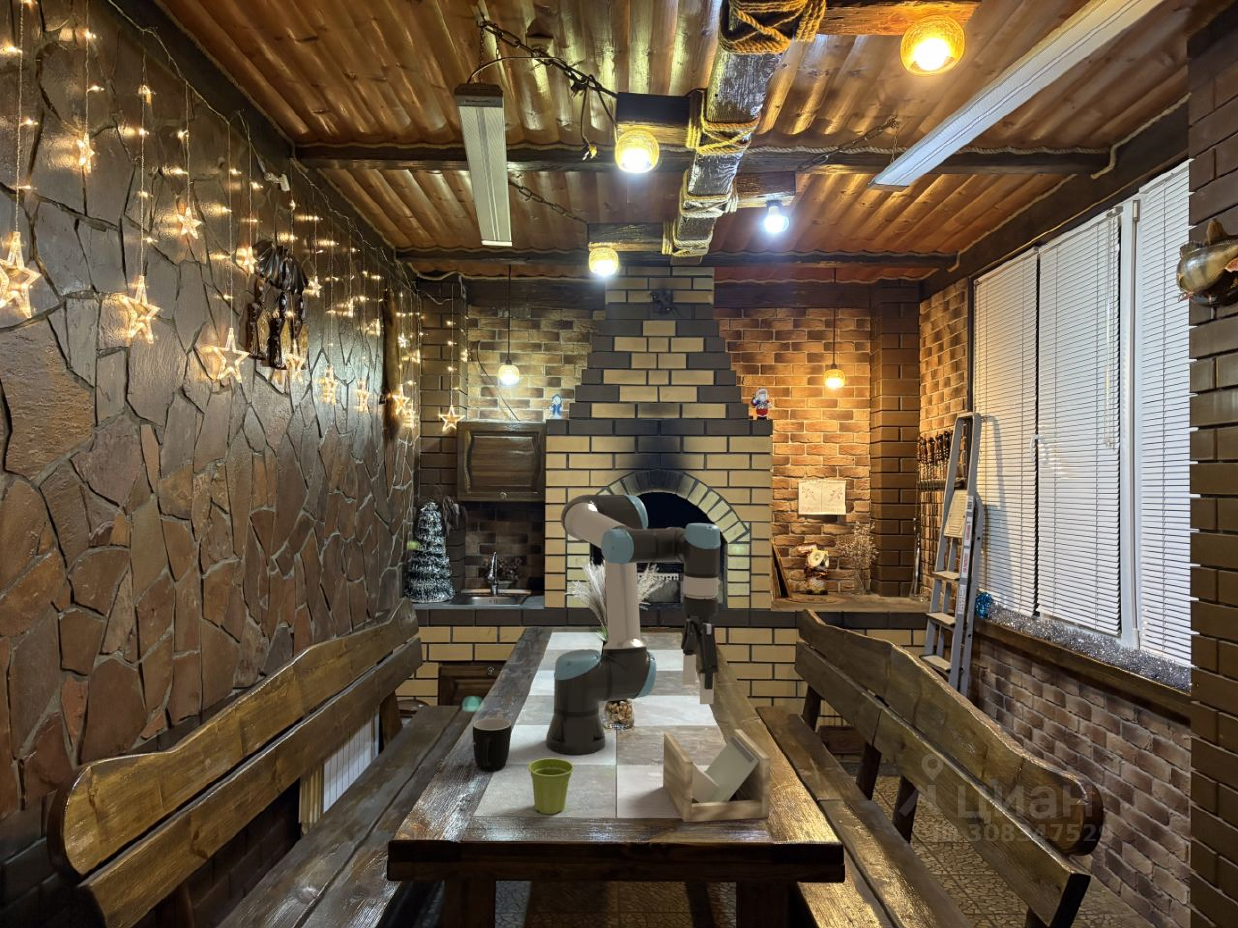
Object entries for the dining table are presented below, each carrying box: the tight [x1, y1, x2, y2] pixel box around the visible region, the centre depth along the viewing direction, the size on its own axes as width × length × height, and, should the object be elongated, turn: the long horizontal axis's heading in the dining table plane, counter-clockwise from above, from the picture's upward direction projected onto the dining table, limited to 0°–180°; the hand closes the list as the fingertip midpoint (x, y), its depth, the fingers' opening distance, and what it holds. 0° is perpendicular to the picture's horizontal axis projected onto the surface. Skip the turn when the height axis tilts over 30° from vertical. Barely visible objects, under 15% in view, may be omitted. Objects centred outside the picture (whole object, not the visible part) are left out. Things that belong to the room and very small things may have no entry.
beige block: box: [692, 762, 719, 803], centre depth 165 cm, size 5×5×6 cm
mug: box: [472, 717, 512, 773], centre depth 181 cm, size 12×9×10 cm
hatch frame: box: [662, 728, 771, 823], centre depth 165 cm, size 18×18×12 cm
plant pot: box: [528, 757, 575, 815], centre depth 160 cm, size 9×9×9 cm
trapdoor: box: [704, 735, 759, 803], centre depth 166 cm, size 14×14×1 cm
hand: (697, 693), depth 167 cm, fingers open, 13 cm apart
